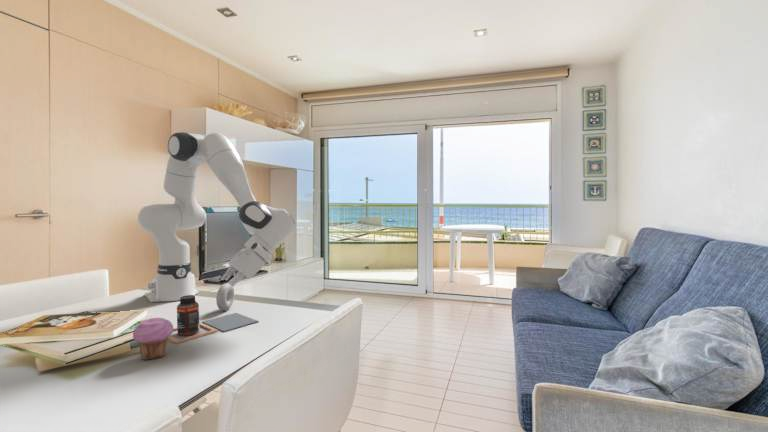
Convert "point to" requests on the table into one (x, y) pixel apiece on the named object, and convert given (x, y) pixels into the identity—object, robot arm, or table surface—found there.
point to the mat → (230, 322)
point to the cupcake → (153, 337)
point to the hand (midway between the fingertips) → (227, 281)
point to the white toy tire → (225, 297)
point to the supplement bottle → (187, 316)
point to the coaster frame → (194, 335)
